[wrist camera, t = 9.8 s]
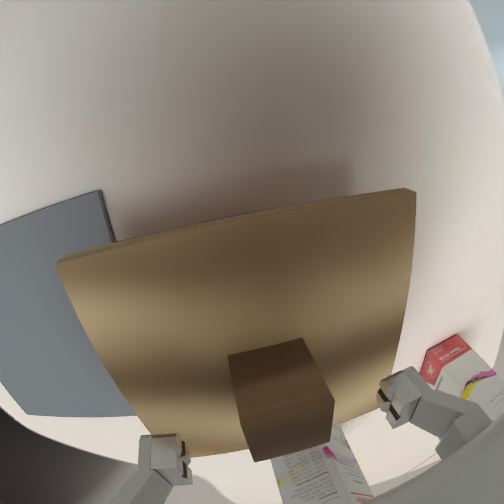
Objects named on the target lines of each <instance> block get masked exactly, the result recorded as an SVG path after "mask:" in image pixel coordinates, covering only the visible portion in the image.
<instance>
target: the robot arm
mask: <svg viewBox="0 0 504 504" xmlns="http://www.w3.org/2000/svg"><path fill="white" fill-rule="evenodd" d="M379 386H380V389H379V390H378V391H377V395H376V398H377V403H378V406H379V408H380V409H381V411H383V412H386V413H387V415H386V419H387V420H388V422H389V424H390V425H391V427H392V428H393V429H394V428H396V427H398V426H401V425H403V424H405V423H407V422H409V421H410V423H412V424H414V425H416V426H418V427H420V428H421V429H423V430H425V431H427V432H429V433H431V434H433V435H435V436H437V437H439V438H441V441H440V442H439V444H438V445H437V446H436V449H435V450H436V452H437V453H438V455H439V456H440V458H441V459H442V461H440V462H439V463H437V464H435V465H434V466H432V467H431V468H429V469H427V470H426V471H424V472H422V473H421V474H419V475H417V476H415V477H414V478H412V479H410V480H408V481H406V482H404V483H402V484H400V485H399V486H397V487H395V488H393V489H391V490H389V491H386V492H384V493H382V494H380V495H378V496H376V497H373V498H371V499H369V500H367V501H364V502H362V503H359V504H504V412H503V413H502V414H501V415H500V416H499V417H498V418H497V419H496V420H494V421H493V422H492V420H491V419H490V418H489V417H488V415H487V414H486V413H485V412H484V411H483V409H482V408H481V407H480V406H479V405H478V403H475V402H472V401H469V400H466V399H463V398H460V397H457V396H454V395H451V394H448V393H445V392H442V391H440V390H437V389H435V390H432V388H431V387H430V386H429V385H428V384H427V382H426V381H425V380H424V379H423V378H422V376H421V375H420V374H419V373H418V372H417V370H416V369H415V368H414V367H412V366H411V367H408V368H406V369H404V370H402V371H399V372H397V373H395V374H393V375H390V376H388V377H386V378H384V379H382V380H381V381H380V383H379ZM190 462H191V459H190V452H189V448H188V446H187V444H186V443H185V442H184V441H182V440H181V435H180V434H179V433H168V434H156V435H154V434H153V435H141V437H140V441H139V457H138V470H134V471H133V473H132V474H131V475H130V477H129V478H128V479H127V480H126V482H125V483H124V484H123V486H122V487H121V488H120V490H119V491H118V492H117V493H116V495H115V496H114V497H113V498H112V500H111V501H110V502H109V503H108V504H164V502H165V501H166V499H167V497H168V495H169V493H170V492H171V490H172V488H173V486H177V485H188V484H193V482H192V471H191V469H190V468H189V467H188V465H189V463H190Z"/></svg>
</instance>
